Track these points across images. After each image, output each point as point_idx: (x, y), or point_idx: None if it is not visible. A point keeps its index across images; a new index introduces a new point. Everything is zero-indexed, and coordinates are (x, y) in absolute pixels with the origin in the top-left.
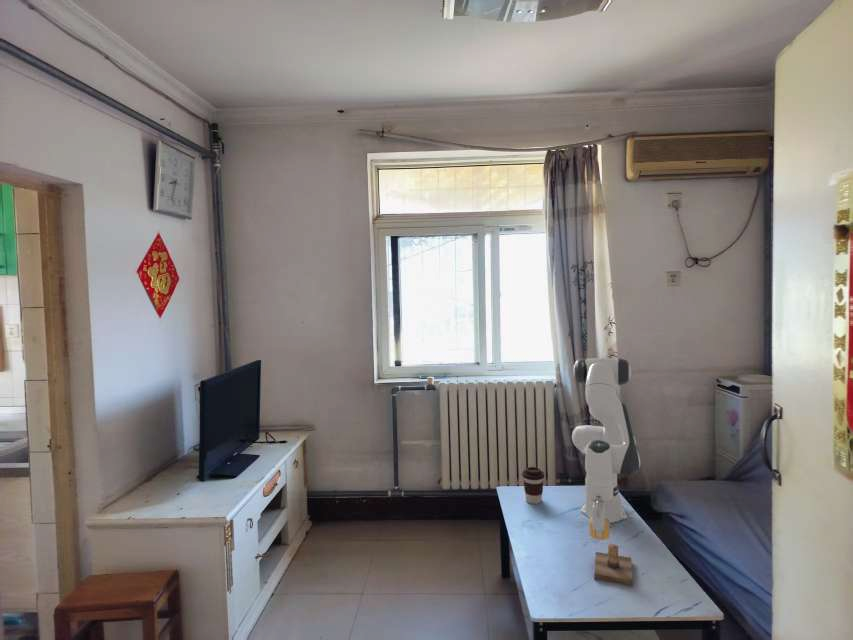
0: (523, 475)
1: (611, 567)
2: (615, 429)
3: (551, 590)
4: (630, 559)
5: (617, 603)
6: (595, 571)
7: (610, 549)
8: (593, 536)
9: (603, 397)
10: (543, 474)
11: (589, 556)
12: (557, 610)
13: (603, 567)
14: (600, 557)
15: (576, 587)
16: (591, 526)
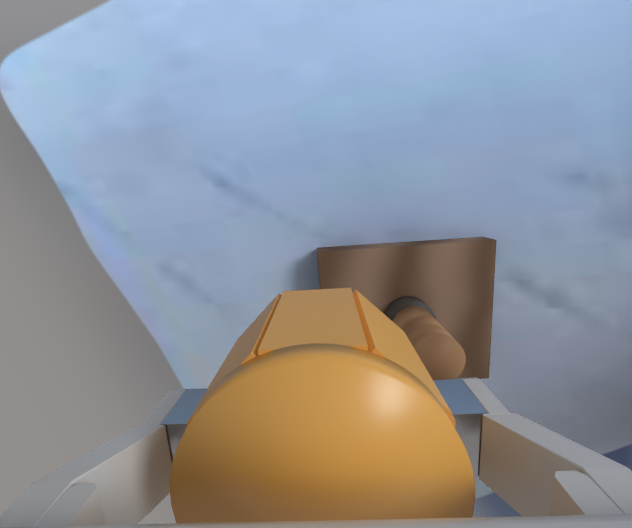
0: None
1: (385, 313)
2: None
3: (169, 89)
4: (473, 376)
5: (207, 334)
6: (335, 254)
7: (413, 345)
8: (250, 328)
9: None
10: None
11: (480, 210)
12: (60, 138)
13: (378, 282)
14: (453, 264)
15: (235, 187)
16: (242, 355)
